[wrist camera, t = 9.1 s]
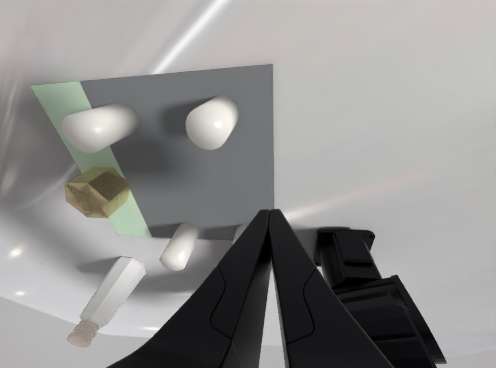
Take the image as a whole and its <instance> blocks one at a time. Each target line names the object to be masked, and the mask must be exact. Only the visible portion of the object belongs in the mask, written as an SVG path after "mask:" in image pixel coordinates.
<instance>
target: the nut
mask: <svg viewBox="0 0 496 368" xmlns="http://www.w3.org/2000/svg"><path fill="white" fill-rule="evenodd" d="M129 190H130V184H129V183H128V182H127V181H126V180H125V179H124V178H123V177H122V176H121V175H120V174H119V173H118V172H117V171H116V170H115V169H113V168H112V167H92V168H90V169H89V170H87V171H85V172H83V173H82V174H80V175H78V176H76V177H75V178H73V179H71V180H69V181H68V182H66V183H65V191H66V201H67V202H68V203H70V204H71V205H72V206H73V207H75V208H76V209H77V210H79V211H80V212H81V213H82V214H84V215H85V216H86V217H92V218H108V217H110V216H111V215H112V214H113V213H114V212H115V211H116V210H117V209H118V208H119V207H120V206H122V205H123V204H124V203H125V202H126V201H127V200H128V196H129Z"/></svg>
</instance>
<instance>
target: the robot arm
mask: <svg viewBox="0 0 496 368" xmlns="http://www.w3.org/2000/svg"><path fill="white" fill-rule="evenodd" d="M374 239H375V235H374V233H373V232H372V231H346V230H319V231H317V236H316V242H315V249H314V256H313V260H312V259H311V257H310V256H309V254H308V253H307V251H306V249H305V248H304V246H303V245H302V243H301V242H300V240H299V238H298V237H297V235H296V234H295V232H294V231H293V229H292V228H291V226H290V224H289V223H288V221H287V220H286V218H285V217H284V215H283V213H282V212H281V210H280V209H271V210H269V209H261V210H260V211H259V212H258V213H257V214H256V216H255V217H254V218H253V220H252V221H251V222H250V223H249V225H248V226H247V227H246V229H245V230H244V231H243V232H242V234H241V235H240V236H239V238H238V239H237V240H236V242H235V243H234V244H233V245H232V247H231V248H230V249H229V251H228V252H227V253H226V254H225V256H224V257H223V258H222V260H221V261H220V262H219V263H218V266H216V267H215V268H214V270H213V271H212V272H211V274H210V275H209V276H208V277H207V279H206V280H205V281H204V282H203V283H202V285H201V286H200V287H199V288H198V289H197V290H196V291H195V292H194V294H193V295H192V296H191V297H190V298H189V299H188V300H187V301H186V302H185V303H184V304H183V305H182V306H181V307H180V309H179V310H178V311H177V312H176V313H175V314H174V315H173V316H172V317H171V318H170V319H169V320H168V321H167V322H166V323H165V324H164V325H163V326H162V327H161V329H160V330H159V331H158V332H157V333H156V334H155V335H154V336H153V337H152V338H151V339H149V340H148V341H147V342H146V343H145V344H144V345H142V346H141V347H140V348H139V349H138V350H136V351H134V352H133V353H131V354H130V355H128V356H126V357H125V358H123V359H121V360H119V361H117V362H115V363H114V364H112V365H110V366H108V367H107V368H258V367H259V358H260V350H261V343H262V335H263V327H264V319H265V310H266V302H267V294H268V286H269V278H270V270H271V259H272V267H273V275H274V282H275V290H276V298H277V306H278V313H279V321H280V329H281V337H282V344H283V352H284V360H285V367H286V368H437V367H436V365H435V364H446V363H447V362H446V360H445V358H444V356H443V354H442V352H441V350H440V348H439V346H438V344H437V342H436V340H435V338H434V336H433V335H432V333H431V331H430V329H429V327H428V326H427V324H426V322H425V320H424V318H423V317H422V315H421V313H420V312H419V310H418V308H417V307H416V305H415V303H414V302H413V300H412V298H411V297H410V295H409V293H408V292H407V290H406V289H405V287H404V285H403V284H402V282H401V280H400V279H399V277H398V275H393V276H391V277H389V278H384V279H382V277H381V275H380V273H379V271H378V269H377V267H376V265H375V263H374V260H373V258H372V256H371V254H370V250H371V247H372V244H373V241H374ZM316 266H321V267H322V272H323V276H324V278H323V276H322V274H321V273H320V271H319V270H318V269H317V267H316Z"/></svg>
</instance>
